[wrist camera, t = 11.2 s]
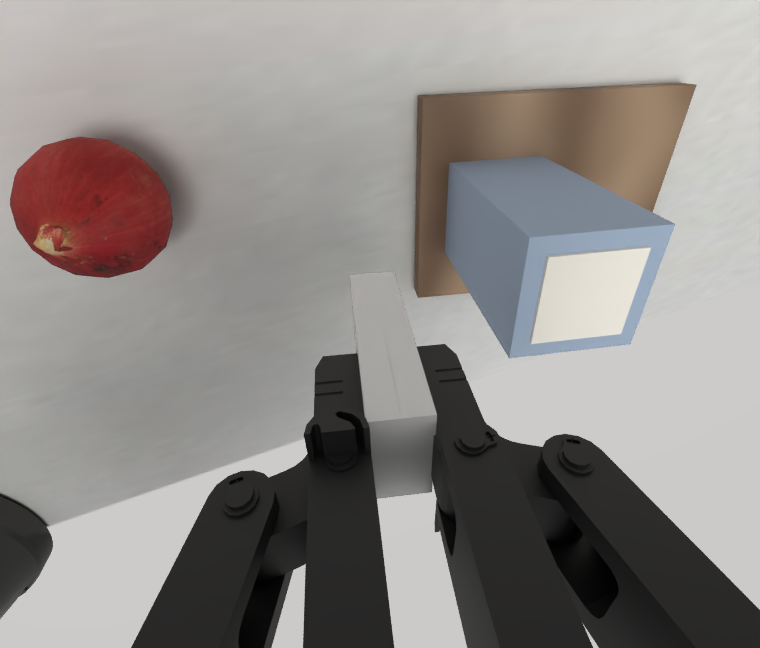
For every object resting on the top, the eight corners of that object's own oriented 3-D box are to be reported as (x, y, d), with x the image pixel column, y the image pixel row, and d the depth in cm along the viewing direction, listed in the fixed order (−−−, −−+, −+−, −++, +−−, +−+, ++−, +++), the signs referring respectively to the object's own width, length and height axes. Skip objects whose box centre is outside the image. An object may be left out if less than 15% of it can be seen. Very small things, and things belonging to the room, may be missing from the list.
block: (444, 251, 24) (510, 360, 16) (449, 162, 22) (531, 239, 13) (526, 243, 25) (632, 346, 17) (541, 155, 22) (678, 225, 14)
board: (414, 288, 27) (418, 297, 26) (418, 95, 21) (422, 98, 20) (618, 270, 28) (629, 278, 27) (679, 82, 22) (696, 84, 21)
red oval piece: (209, 223, 23) (166, 296, 17) (110, 251, 23) (30, 334, 17) (152, 110, 20) (71, 144, 13) (38, 142, 20) (-99, 193, 13)
